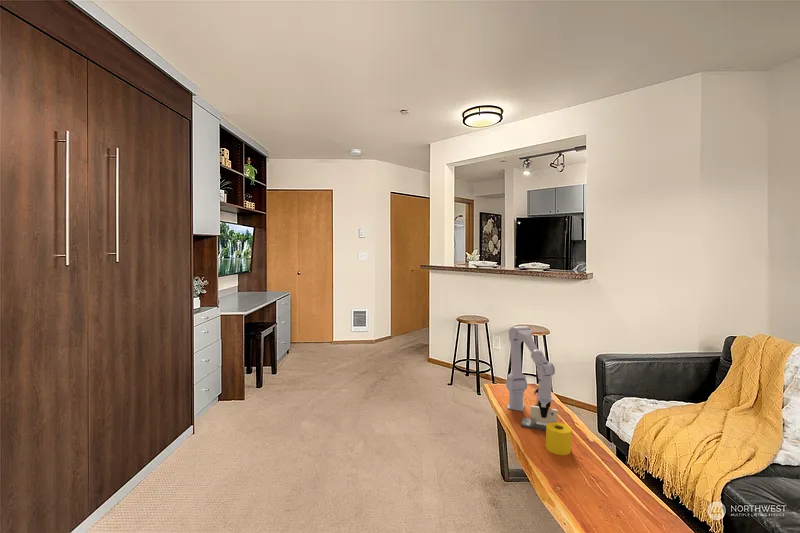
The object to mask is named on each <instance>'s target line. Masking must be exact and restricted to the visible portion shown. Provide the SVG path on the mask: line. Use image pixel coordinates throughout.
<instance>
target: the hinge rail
mask: <svg viewBox="0 0 800 533" xmlns="http://www.w3.org/2000/svg"><path fill="white" fill-rule="evenodd" d="M552 422H555V421H552ZM546 425H547V424H546V423H541V422H535V418H532V417H531V421H530V417H529V418H528V417H522V420H521V423H520V427H521V428H527V429H533V430H539V431H544V432H546Z"/></svg>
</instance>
